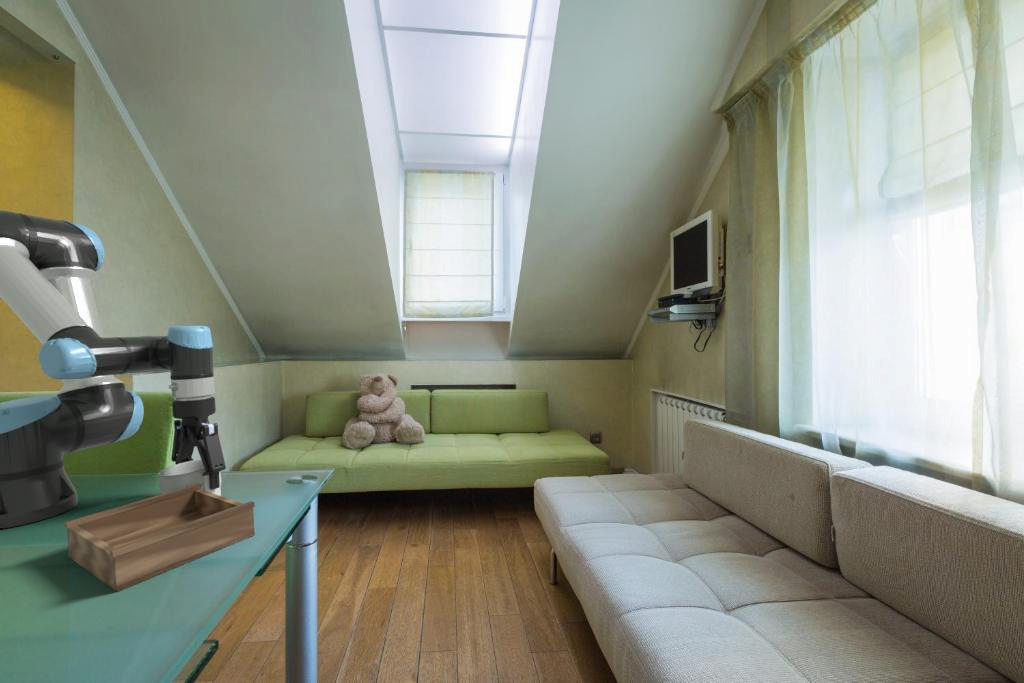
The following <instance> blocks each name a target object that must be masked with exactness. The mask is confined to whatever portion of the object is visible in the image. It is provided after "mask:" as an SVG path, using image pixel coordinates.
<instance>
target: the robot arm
mask: <svg viewBox="0 0 1024 683" xmlns="http://www.w3.org/2000/svg"><path fill="white" fill-rule="evenodd" d="M105 255H106V252H105V248H104V245H103V242H102V240H101V239H100V237H99V236H98V235H97V232H94V230H92V229H91V228H89V227H87V225H86V226H85V225H83V224H78V223H73V222H72V221H68V220H63V219H52V218H47V217H42V216H41V217H40V216H37V215H36V216H35V215H29V214H25V213H18V212H14V211H10V210H2V209H0V298H1V299H2V301H3V302H4V303H5V304H6V305H7V306H8V308H10V309H11V311H12V312H13V313H14V315H16V317H18V319H19V320H20V321H21V322H22V323H23V325H25V326H26V327H27V329H28V330H29V331H30V332H31V333H32V335H34V336H35V338H36V339H37V340H38V341H39V342H40V343H41V344H42V345H41V347H40V349H39V351H38V362H39V364H40V365H41V366H40V368H41V370H42V372H43V374H44V375H46V377H49V378H51V379H53V380H62V385H63V386H62V388H61V389H59V390H58V392H56V394H54V395H53V394H47V395H46V394H45V395H36V396H31V397H30V396H29V397H22V398H16V399H11V400H8V401H4V402H0V528H3V529H8V528H13V527H18V526H23V525H27V524H32V523H36V522H39V521H43V520H46V519H49V518H53V517H56V516H57V515H61V514H62V513H65V512H67V511H69V510H71V509H73V508H75V507H76V506H77V505H78V504H79V501H78V500H79V499H78V498H79V497H78V491H77V490H76V488H75V486H74V484H73V483H72V481H71V479H70V478H69V476H68V474H67V472H66V471H65V465H64V455H65V454H70V453H74V452H79V451H82V450H87V449H91V448H95V447H99V446H103V445H111V444H115V443H116V442H119V441H123V440H126V439H129V438H131V437H132V436H134V435H135V434H136V433H137V432H138V430H139V429H140V426H141V425H142V423H143V419H144V414H145V413H144V412H145V409H144V403H143V400H142V399H141V396H139V395H138V393H137V392H134V391H131V390H128V389H127V390H126V385H125V383H124V381H122V380H121V379H118V378H116V377H115V376H114V375H123V374H124V375H125V374H132V373H133V374H134V373H145V372H155V371H170V372H169V373H170V384H169V385H168V388H169V390H171V398H173V399H174V400H173V402H171V407H172V408H171V409H172V417H173V418H174V419H175V420H173V425H174V427H173V429H174V433H173V439H172V440H173V441H172V448H171V449H172V450H171V451H172V452H171V460H170V461H171V462H172V463H173V462H174V463H175V464H174V465H177V464H180V463H184V462H188V461H193V460H194V459H193V458H192V457H193V453H194V450H195V448H197V452H198V455H199V457H200V459H201V460H202V463H203V466H204V469H205V471H206V472H204V473H203V474H202V475H203V476H204V490H205V491H208V492H211V493H213V494H216V495H219V496H222V493H221V487H220V471H221V472H223V471H224V470H226V469H227V467H226V461H225V458H224V453H223V449H222V445H221V441H220V436H219V427H218V426H219V425H218V423H217V422H214V423H210V420H209V416H212V415H214V414H215V413H216V412H217V410H216V398H215V397H214V396H213V395H215V394H216V390H215V389H216V388H215V375H214V358H213V357H214V356H213V354H214V353H213V352H214V351H213V346H214V343H213V339H212V338H213V337H212V333H211V329H210V327H209V326H206V325H178V326H177V325H175V326H170V327H169V328H168V329H167V335H163V336H162V335H141V336H140V335H139V336H122V337H117V336H115V337H105V336H104V334H103V332H104V331H103V329H102V324H101V321H100V317H99V316H100V315H99V313H98V309H97V305H96V300H95V296H94V293H93V288H92V285H91V282H92V280H93V279H95V278H96V277H97V272H98V271H99V270H101V269H102V267H103V264H104V262H105V261H104V260H103V259H104V258H105Z"/></svg>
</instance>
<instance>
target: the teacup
mask: <svg viewBox="0 0 1024 683" xmlns="http://www.w3.org/2000/svg"><path fill="white" fill-rule="evenodd" d="M204 472H206V471H205V469H204V466H203V463H202V460H201V458H200V459H195V460H194V459H193V461H188V462H184V463H180V464H177V465H176V464H174V465H171V466H170V465H169V466H168V467H166V468H164V469H163V468H162V469H161V470H160V471H158V472H157V476H158V481H159V488H160V495H161V494H165V493H168V492H172V491H175V490H179V489H182V488H186V487H189V486H193V485H196V484H201V485H202V490H204V476H203V475H202V474H203V473H204ZM221 473H222V471H220V488H221V487H222V474H221Z"/></svg>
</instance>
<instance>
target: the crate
mask: <svg viewBox="0 0 1024 683" xmlns="http://www.w3.org/2000/svg"><path fill="white" fill-rule="evenodd" d="M255 506H256V505H255V502H254V501H252V500H251V501H247V502H244V503H242V502H240V501H236V500H234V499H230V498H228V497H226V496H222V495H221V496H219V495H216V494H213V493H211V492H208V491H205V490H202V485H201V484H196V485H193V486H189V487H186V488H182V489H179V490H175V491H172V492H168V493H165V494H161V493H160V494H158V495H155V496H152V497H148V498H144V499H141V500H138V501H133V502H131V503H127V504H123V505H121V506H117V507H113V508H109V509H106V510H103V511H100V512H99V511H98V512H95V513H93V514H88V515H86V516H81V517H78V518H75V519H72V520H71V519H70V520H68V521H65V522H64V527H65V528H66V532H67V546H68V547H67V548H68V557H69V558H70V559H71V560H73V561H74V562H75V563H76V564H78V565H79V566H81V567H82V568H84V569H85V570H86V571H88V572H89V573H90V574H92V575H93V576H94V577H96V578H97V579H99V580H100V581H101V582H103V583H104V584H106V585H107V586H108V587H109V588H111V589H112V590H113V591H114V592H116V593H118V592H120V591H122V590H125V589H128V588H130V587H132V586H135V585H137V584H139V583H140V584H141V583H143V582H144V581H146V580H149V579H152V578H155V577H157V576H159V575H161V574H164V573H166V572H169V571H172V570H174V569H176V568H179V567H181V566H183V565H185V564H188V563H190V562H193V561H195V560H198V559H199V558H202V557H206V556H208V555H209V554H213V553H215V552H217V551H219V550H222V549H224V548H227V547H229V546H231V545H233V544H234V545H235V544H236V543H238V542H241V541H243V540H246V539H249V538H251V537H254V536H255V533H256V532H255V519H254V517H255V516H254V514H255V513H254V508H255Z"/></svg>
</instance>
